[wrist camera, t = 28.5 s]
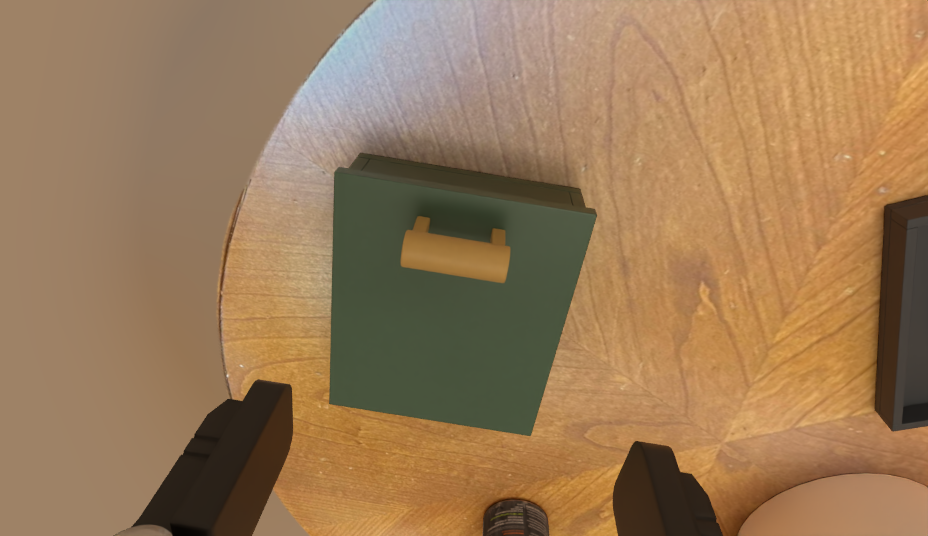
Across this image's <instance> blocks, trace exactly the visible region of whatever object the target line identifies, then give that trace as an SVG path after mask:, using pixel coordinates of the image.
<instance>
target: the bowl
mask: <svg viewBox="0 0 928 536" xmlns="http://www.w3.org/2000/svg"><path fill="white" fill-rule="evenodd" d="M738 536H928V487H926V486H925V485H923V484H920V483H918V482H915V481H912V480H910V479H907V478H902V477H897V476H892V475H887V474H871V473H861V474H845V475H838V476H832V477H827V478H821V479H817V480H814V481H811V482H807V483H804V484H801V485H798V486H796V487H793V488H791V489H789V490H786V491H784V492H782V493H780V494H778V495H776V496H775V497H773V498H771V499H770V500H768V501H766V502H765V503H763V504H762V505H761V506H760V507H759V508H757V509H756V510H755V511H754V512H753V513H752V514H750V516H749V517H748V518H747V520H746V521H745V522H744V523H743V525H742V526H741V529H740V531H739V533H738Z"/></svg>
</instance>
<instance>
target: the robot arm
mask: <svg viewBox="0 0 928 536" xmlns="http://www.w3.org/2000/svg"><path fill="white" fill-rule="evenodd" d="M292 435H293V411H292V388H291V385H289V384H283V383H277V382H271V381H264V380H256V381H255V382H254V383H253V385H252V386H251V388H250V390H249V391H248V393H247V395H246V396H245V398H244V400H243V401H238V400H232V399H227V400H226V401H225V402H223V403H222V404H221V405H219V406H218V407H217V408H216V409H214V410H213V411H212V412H210V413H209V414H208V415H207V416H206V418H205V419H204V421H203V423H202V424H201V426H200V427H199V428H198V430H197V431H196V433H195V436H194V438H192V439H191V441H190V442H189V444H188V445H187V447H186V448H185V450H184V453H183V455H181V456H180V457H179V459H178V460H177V462H176V463H175V465H174V466H173V468H172V469H171V471H170V473H169V474H168V475H167V477H166V478H165V480H164V481H163V483H162V485H161V486H160V488H159V489H158V491H157V492H156V494H155V495H154V497H153V498H152V500H151V501H150V503H149V504H148V506H147V507H146V509H145V510H144V512H143V513H142V515H141V516H140V518H139V519H138V520H137V521H136V523H135V524H134V525H133V526H132V527H131V528H128V529H126V530H123V531H121V532H119V533H118V534H116V535H114V536H252V534H253V532H254V530H255V527H256V525H257V523H258V521H259V519H260V516H261V514H262V511H263V510H264V507H265V505H266V503H267V500H268V498H269V496H270V494H271V492H272V489H273V487H274V485H275V483H276V480H277V478H278V476H279V474H280V471H281V469H282V467H283V465H284V462H285V460H286V458H287V455H288V452H289V449H290V446H291V441H292ZM613 510H614V516H615V521H616V526H617V532H618V536H723V534H722V532H721V529H720V526H719V524H718V523H717V522H716V519H717V518H716V516H715V513H714V510H713V508H712V505H711V502H710V500H709V497H708V495H707V494H706V492H705V491H704V490H703V488H702V487H701V486H700V484H699V483H698V482H697V480H696V479H695V478H694V477H693V475H692V474H688V473H682V472H680V471H679V468H678V465H677V462H676V459H675V456H674V453H673V451H672V449H671V448H670V447H669V446H664V445H657V444H651V443H645V442H639V441H636V442H634V443H633V445H632V447H631V449H630V451H629V453H628V456H627V458H626V460H625V462H624V464H623V467H622V469H621V471H620V473H619V476H618V478H617V480H616V483H615V486H614V491H613Z"/></svg>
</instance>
